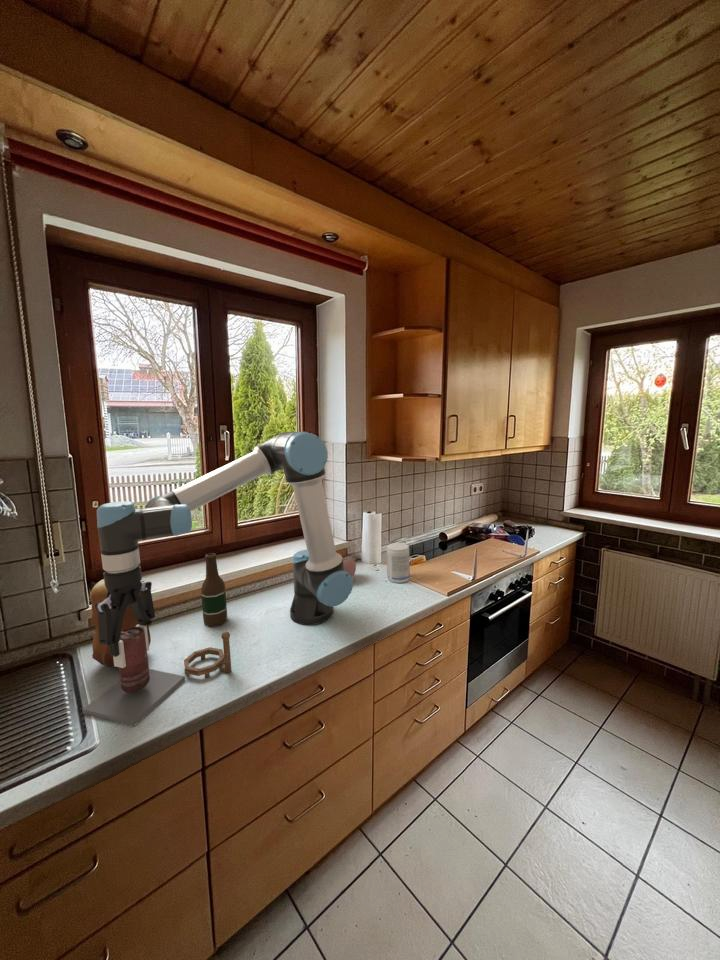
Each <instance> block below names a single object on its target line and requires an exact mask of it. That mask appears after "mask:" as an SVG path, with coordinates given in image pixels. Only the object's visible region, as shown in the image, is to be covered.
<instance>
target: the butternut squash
mask: <svg viewBox="0 0 720 960" xmlns="http://www.w3.org/2000/svg"><path fill="white" fill-rule="evenodd" d="M107 592H108V591H107V588H106V587H105V583H104V578H103V579H101V580H99V581H98V582H96V584H95V585H94V586H93V587H92V589H91V592H90V603H91V611H92V615H91V618H90V619H91V623H92V624H93V626H94V627H95V631H94V635H93V639H92V655H91V656H92V657H91V658H92V659H93V660H94V661H96V662H97V663H99V664H100V665H103V666H104V667H108V668H115V666H114V660H113V656H111V655H110V649H109V645H103V644H100V643H99V627H98V612H97V610H96V608H95V604H96V603H101V602H103V601H104V600H105V599H106V596H107ZM139 595H140V592H139ZM110 606H111V603H110ZM117 608H118V607H117ZM136 625H140V623H138V621H137V619H136V617H135V615H134V613H133V610H132V608H131V606H130V604H129V605H128V606H127V608H126V612H125V613H124V616H123V622H122V628H121V631H123V630H125V629H128V628H132V627H136ZM151 638H152V637H151V633H150V630H149V635H148V642H149V647H150V645H151Z"/></svg>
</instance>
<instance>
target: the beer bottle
mask: <svg viewBox="0 0 720 960" xmlns="http://www.w3.org/2000/svg"><path fill="white" fill-rule="evenodd" d="M204 560H205V579H204V581H203V583H202V585H201V588H200V590H201V591H200V592H201V593H200V595H201V606H202V607H201V608H202V620H203V624H204V625H205V626H206V627H209V628H214V627H219V626H221V625H223V624H226V623H227V619H228V607H227V593H226V585H225V582H224V581H225V580H223V578H222V577H221V576H220V574H219V570H218V563H217V554H216V553H214V552H211V553H206V554H205V555H204Z"/></svg>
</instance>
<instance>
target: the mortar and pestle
mask: <svg viewBox="0 0 720 960" xmlns="http://www.w3.org/2000/svg"><path fill="white" fill-rule="evenodd" d="M343 564H344V569H345V571H346V572H348V573H349V575H350V576H351V577H352V578H353V576H354V575H355V573H356V571H357V564H356V561H355V559H354V558H353V557H351V558H348V559H343Z"/></svg>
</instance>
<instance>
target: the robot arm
mask: <svg viewBox="0 0 720 960" xmlns="http://www.w3.org/2000/svg"><path fill="white" fill-rule="evenodd" d="M327 462H328V449H327V446H326V444H325V442H324V441H323V440H322V439H321V438H320V437H319V436H318V435H316V434H314V433H310V432H308V431H285V432H281V433H279V434H277V435H275V436H274V437H271V438H269V439H268V440H266V441H264V442H262V443H260V444H258V445H256V446H254V448H253V450H252V452H250V453H248V454H246V455H243V456H240V457H239V458H237V459H235V460H233V461H231V462H228V463H227V464H225V465H222V466H221V467H218V468H216V469H215V470H212V471H210V472H208V473H206V474H204V475H202V476H201V477H198V478H196V479H195V480H191V481H190V482H187V483H186V484H183V485H182V486H180V487H177V488H176V489H174V490H172V491H169V492H167V493H165V494H163V495H157V496H153V497H152V498H150V499H149V500H148V501H147V503H146V504H145V507H144V508H136V506H135V504H134V502H132V501H127V500H126V501H125V500H124V501H114V502H107V503H104V504H101V505H99V506H98V507H97V508H96V520H97V521H96V522H97V524H96V525H97V526H96V529H97V532H98V533H97V534H98V540H99V547H100V555H101V556H100V557H101V563H102V570H104V571H103V574H102V575H103V579H104V583H105V587H106V588H107V591H108V592H107V596H106V599H105V600H104V601H103V602H101V603H96V604H95V608H96V610H97V612H98V627H99V643H100V644H103V645H109V649H110V655H111V656H113V660H114V666H115V667H117V668H119V667H120V668H124V667H126V662H125V653H124V645H123V641H122V640H120V635H121V628H122V622H123V616H124V613H125V612H126V608H127V606H128V605H129V604H130V606H131V608H132V610H133V613H134V615H135V617H136V619H137V621H138V623H140V625H136V627H140V628H142V629H143V631H144V632H145V639H146V648H147V652H148V651H150V646H149V642H148V635H149V631H150V627H149V626H150V625H152V623H153V621H152V620H153V619H155V617H156V613H155V608H154V602H153V595H152V581H147V580H142V579H143V577H142V567H141V557H140V548H139V541H145V540H154V539H161V538H167V537H173V536H174V537H178V536H181V535H185V534H189V533H191V531H192V528H193V520H192V519H193V518H192V512H193V511H195V510H197V509H199V508H201V507H203V506H205V505H207V504H208V503H210V502H212V501H215V500H216V499H218V498H220V497H222V496H224V495H225V494H226V495H227V494H228V493H231V492H232V491H234V490H235V489H237V488H239V487H242V486H244V485H245V484H247V483H249V482H251V481H253V480H255V479H257V478H260V477H261V476H263V475H264V474H265V475H269V476H270V475H272V474H274V473H275V472H279V471H283V472H284V477H285V482H286V483H287V484H288V485H290V486H291V487H292V490H293V493H294V497H295V503H296V506H297V511H298V515H299V520H300V524H301V529H302V532H303V537H304V542H305V546H306V549H302V550H299V551H297V552H295V553H294V554H293V556H292V564H291V565H292V572H293V575H292V576H293V593H294V594H293V598H292V602H291V606H290V609H289V615H290V619H291V621H293V622H294V623H297V624H299V625H305V626H306V625H307V626H309V625H310V626H311V625H318V624H319V625H320V624H322V623H325V622H327V621H328V620H330V619H331V618H332V617H333V615H334V607H337V606H339V605H342V604H343V603H344V602H345V601H346V600H348V598H349V596H350V595H351V593H352V591H353V588H354V580H353V577H351V576H350V575H349V573H348V572H346V571H345V569H344V564H343V561H344V559H343V556H342V555H341V554H340V553H337V551H336V549H337V548H336V545H335V541H334V540H335V539H334V536H333V532H332V531H333V530H332V526H331V522H330V521H331V520H330V516H329V512H328V511H329V510H328V506H327V501H326V495H325V491H324V486H323V482H322V480H323V479H324V477H325V476H326V470H325V466H326V463H327ZM139 592H140V595H139ZM110 603H111V606H110ZM117 607H118V608H117ZM115 667H114V668H115Z"/></svg>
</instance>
